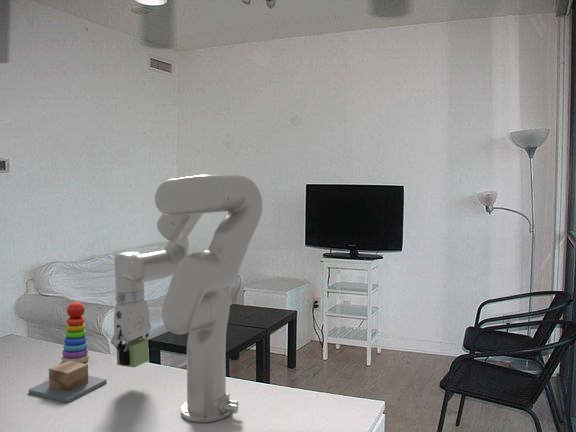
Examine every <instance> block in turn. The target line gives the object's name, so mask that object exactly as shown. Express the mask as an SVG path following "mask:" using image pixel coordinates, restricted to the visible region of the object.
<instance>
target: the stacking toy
mask: <svg viewBox="0 0 576 432" xmlns="http://www.w3.org/2000/svg"><path fill="white" fill-rule="evenodd" d="M66 313H67V315H68V316H69V317H68V318H67V320H66V323H67V325H66V328H65V330H66V331H65V338H64V340H63V342H64V344H63V346H62V347H63V350H62V353H61V354H62V357H61V362H62V363H65V362H67V361H69V360H70V361H74V362H79V363H83V364H85V363H86V362H87V361H88V360H89V359H90V356H89V348H88V342H87V335H86V334H87V331H86V329H85V328H86V324H84V322H85V318H84V317H83V315H84V314H85V306H84V304H83V303H81V302H78V301H74V302H72V303H70V304H68V306H67V308H66Z"/></svg>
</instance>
